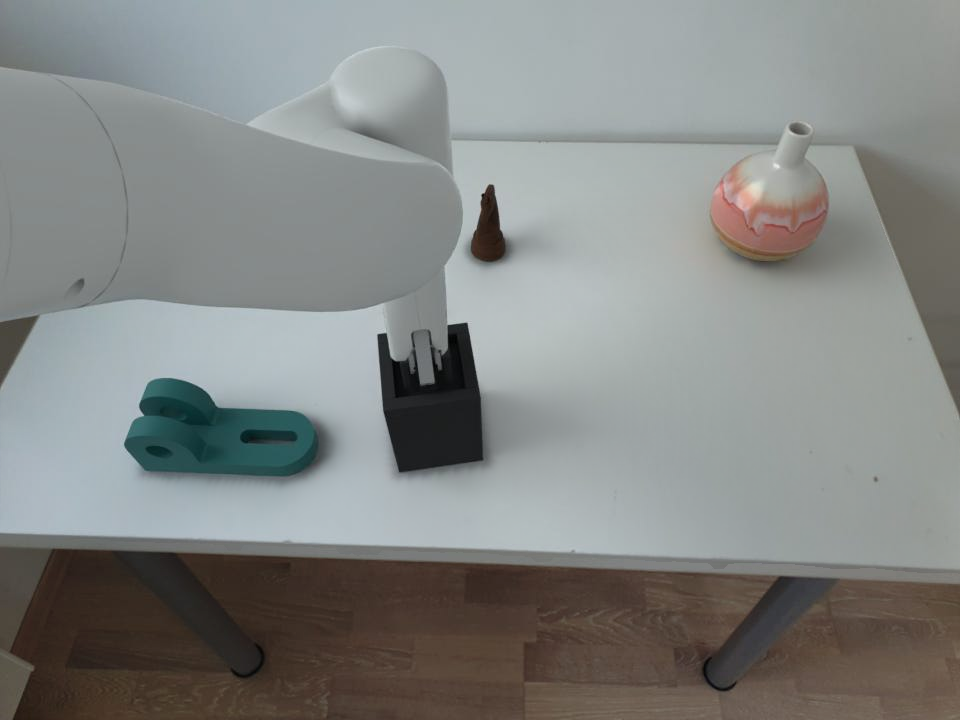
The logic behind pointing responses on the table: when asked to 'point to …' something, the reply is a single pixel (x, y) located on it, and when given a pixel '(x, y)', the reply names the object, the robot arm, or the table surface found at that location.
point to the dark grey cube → (445, 357)
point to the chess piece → (488, 230)
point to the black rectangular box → (434, 410)
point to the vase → (772, 200)
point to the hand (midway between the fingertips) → (425, 363)
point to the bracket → (215, 434)
